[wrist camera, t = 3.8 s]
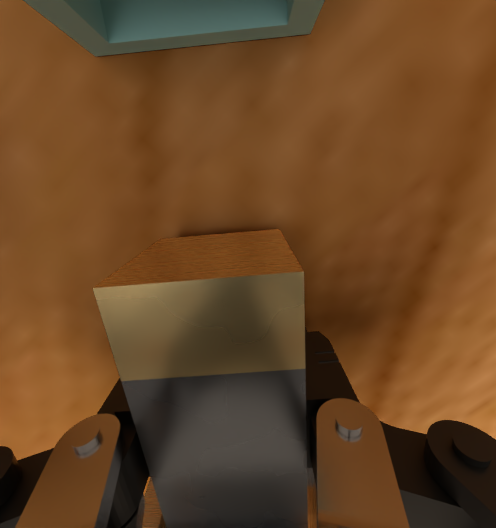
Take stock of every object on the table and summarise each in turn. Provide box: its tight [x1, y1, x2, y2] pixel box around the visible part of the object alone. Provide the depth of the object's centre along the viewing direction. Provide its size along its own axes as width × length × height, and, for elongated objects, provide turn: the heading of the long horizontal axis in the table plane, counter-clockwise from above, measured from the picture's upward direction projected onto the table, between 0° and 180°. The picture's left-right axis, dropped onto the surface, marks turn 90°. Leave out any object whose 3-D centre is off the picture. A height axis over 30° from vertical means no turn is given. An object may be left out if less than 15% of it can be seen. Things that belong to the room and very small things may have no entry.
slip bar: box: [93, 229, 308, 528], centre depth 9 cm, size 16×4×4 cm, turn 5°
